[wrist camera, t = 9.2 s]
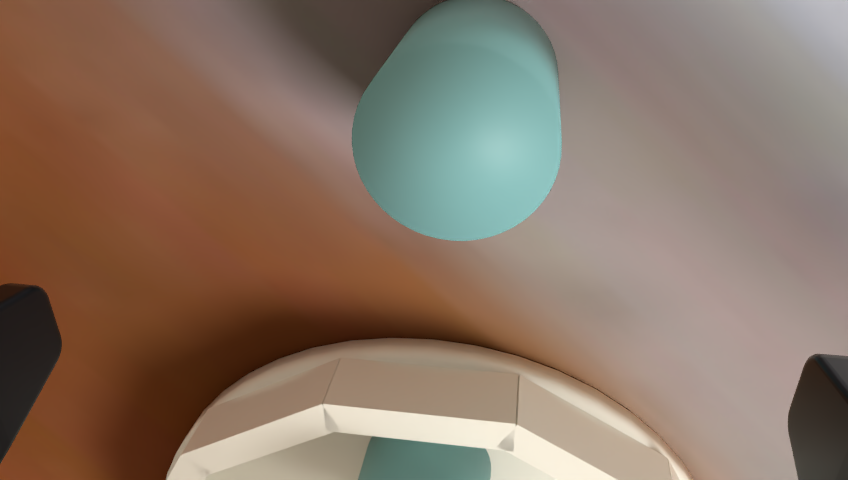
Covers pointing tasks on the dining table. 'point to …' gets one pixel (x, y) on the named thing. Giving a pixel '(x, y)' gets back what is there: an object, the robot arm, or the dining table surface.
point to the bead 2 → (423, 461)
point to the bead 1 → (462, 122)
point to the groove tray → (417, 417)
